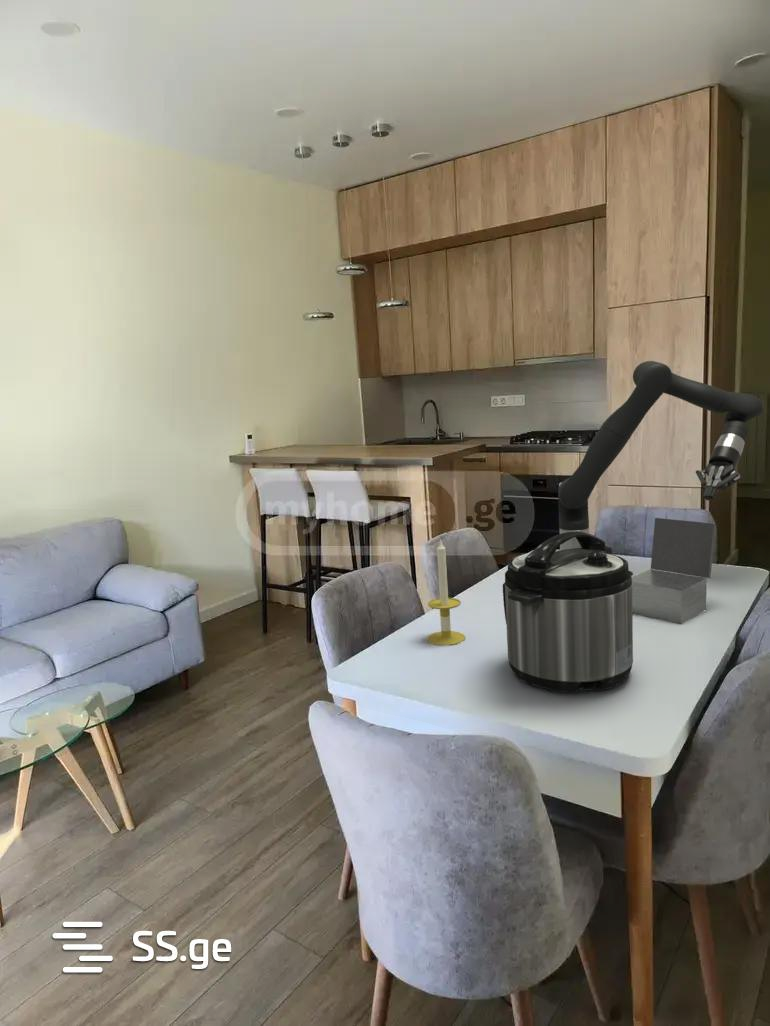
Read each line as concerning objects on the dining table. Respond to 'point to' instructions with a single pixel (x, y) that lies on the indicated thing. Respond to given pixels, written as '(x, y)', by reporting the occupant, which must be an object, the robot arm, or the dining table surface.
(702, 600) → the grey metal box
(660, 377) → the robot arm
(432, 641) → the candle
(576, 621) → the pressure cooker
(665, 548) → the lid
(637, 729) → the dining table surface
